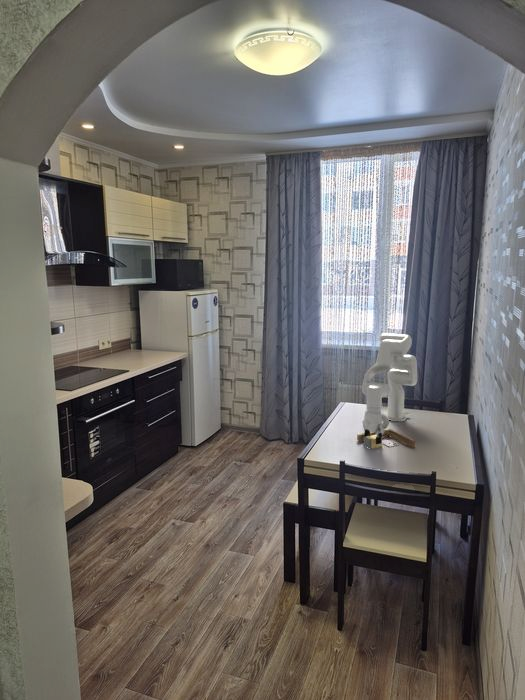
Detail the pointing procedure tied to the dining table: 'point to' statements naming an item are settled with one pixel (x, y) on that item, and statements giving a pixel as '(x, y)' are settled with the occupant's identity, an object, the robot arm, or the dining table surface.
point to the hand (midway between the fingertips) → (372, 440)
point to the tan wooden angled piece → (394, 435)
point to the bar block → (371, 441)
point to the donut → (385, 421)
